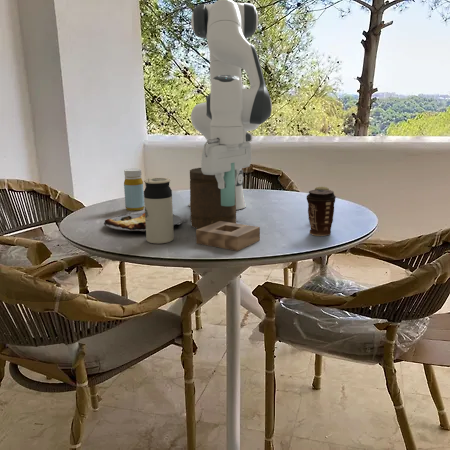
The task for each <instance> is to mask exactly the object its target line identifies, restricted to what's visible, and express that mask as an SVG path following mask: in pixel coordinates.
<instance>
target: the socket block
mask: <svg viewBox="0 0 450 450" xmlns="http://www.w3.org/2000/svg"><path fill="white" fill-rule="evenodd" d="M260 230H261V227H260V226H255V225H250V224H249V225H248V224H241V223H237V222H236V223H230V222H223V221H218V222H216V223H213V224H210V225H208V226H205V227H202V228H200V229H195V241H196V244H199V245H203V246H204V245H205V246H209V247H215V248H221V249H224V250H231V251H235V252H238V251H240V250H243V249H246V248H248V247H249V246H251V245H253V244H255V243H257V242H259V241H260V239H261V238H260V237H261V235H260V232H261V231H260Z"/></svg>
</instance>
